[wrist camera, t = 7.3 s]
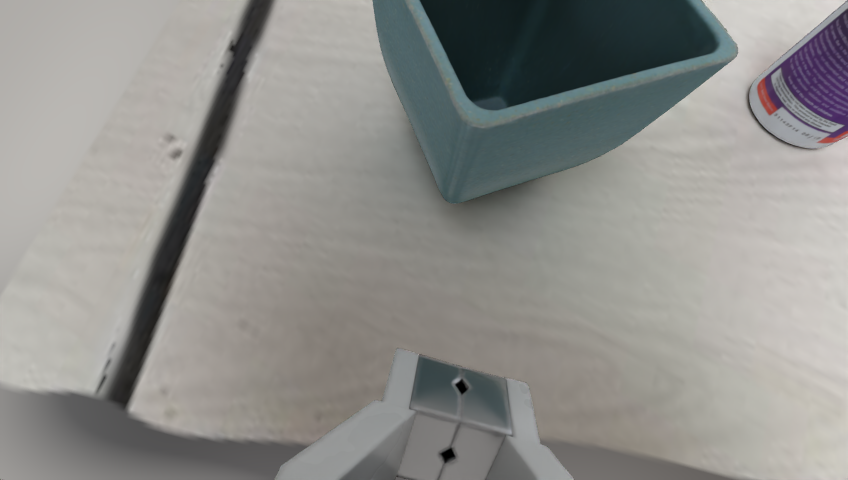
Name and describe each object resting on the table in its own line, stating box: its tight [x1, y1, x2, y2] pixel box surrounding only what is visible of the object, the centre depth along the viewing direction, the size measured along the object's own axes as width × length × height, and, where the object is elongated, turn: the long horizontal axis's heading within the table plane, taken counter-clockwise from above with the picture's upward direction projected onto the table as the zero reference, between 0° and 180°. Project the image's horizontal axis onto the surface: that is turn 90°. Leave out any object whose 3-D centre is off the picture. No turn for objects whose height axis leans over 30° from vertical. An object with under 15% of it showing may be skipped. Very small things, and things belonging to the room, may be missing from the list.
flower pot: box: [373, 0, 738, 204], centre depth 16 cm, size 9×9×9 cm
